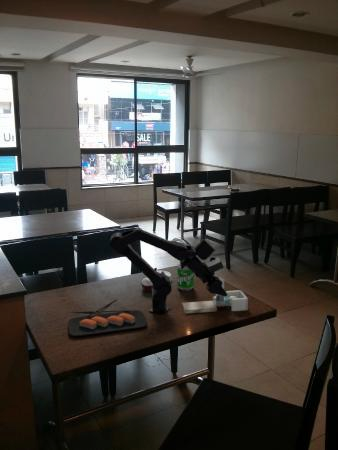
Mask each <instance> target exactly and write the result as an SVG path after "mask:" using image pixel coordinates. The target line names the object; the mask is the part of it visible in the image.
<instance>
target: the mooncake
mask: <svg viewBox="0 0 338 450" xmlns="http://www.w3.org/2000/svg"><path fill="white" fill-rule="evenodd" d="M156 271H157V272H159V273H161V272H162V271H163V272H164V273H165V274H166V275H167V276H168V277H169V278H170V282H171V281H172V274H171V272H169V271H166V270H163V269H162V270H160V269H157V270H156Z"/></svg>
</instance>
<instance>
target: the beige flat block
mask: <svg viewBox="0 0 338 450" xmlns="http://www.w3.org/2000/svg"><path fill="white" fill-rule="evenodd" d="M181 307H182V309H183V311H184V313H185V314H196V313H197V314H199V313H211V312H218V308H217V307H218V306H216V305H215V304H214V302H213V300H204V301H203V300H202V301H190V302H181Z"/></svg>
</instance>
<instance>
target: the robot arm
mask: <svg viewBox="0 0 338 450" xmlns="http://www.w3.org/2000/svg"><path fill="white" fill-rule="evenodd" d="M136 241H141V242H143V243H145V244H147V245H151V246H153V247H155V248H157V249H160V250H162V251H164V252H166V253H167V254H169V256H171V257H172V258H174V259H176V260H177V261H179V263H180V267H181V269H183V268H184V267H185V266H186V267H187V268H188V269H190V270H191V271H192V272H193V273H194V277H196V278H198V280H200V281H201V282H202V284H204V285H205V284H206V285H205V286H206V287H205V288H206V290H207V291H208V292H209V293H210V294H211V295H212V294H215V295H216V294H219V295H222V296H227V295H228V294H227V293H226V290H225V288H224V289H223V287H222V284H223V282H222V281H221V280H220V279H219V278H220V277H219V276H215V275H216V273H215V272H218V271H219V270H222V269H224V267H225V266H224V265H223V262H222V260H221V258H219V257H215V256H213V255H212V254H214V253H215V252H216V248H215V247H214V246H213V245H212V244H211V243H210V242H209V241H207V240H206V239H204V238H202V239H201V240H200V241H199V243H197V245H195V246H194V245H187V244H185V243H183V242H179V241H173V240H167V239H166V238H163V237H160V236H159V235H156V234H154V233H152V232H149V231H146V230H144V229H142V228H141V227H135V228H134V229H130V230H126V231H125V230H124V231H122V232H114V233H113V234H111V237H110V240H109V246H110V249H111V250H113V251H114V252H116V253H117V254H119V255H121V256H123V257H125V258H127V260H129V262H130V263H132V264H133V265H134V266H135V267H136V268H137V269H138V271H140V272H141V273H142V274H143V275H144V276H146V277H147V278H148V279H150V281H151V282H152V284H153V287H152V292H151V294H152V295H151V297H152V298H151V304H152V305H151V306H152V307H151V308H150V309H149V310H148V312H149V313H153V314H157V315H158V314H159V315H164V314H165V313H167V312H168V311H169V310H170V307H168V306H167V297H168V295H170V294H171V292H172V290H173V289H172V283H171V281H170V278H169V277H168V276H167V275H166V274H165V273H164V272H163V271H164V270H163V271H162V272H161V273H159V272H157V270H156V271H155V270H154V267H152V265H150V264H149V262H147V261H146V260H145V259H144V258H143V257H142V256H141V255H140V254H139V253H138V252H137V251H136V250H135V249H134V248H133V247H132V245H131V244H132V243H134V242H136ZM211 255H212V256H211ZM208 259H209V260H208ZM205 260H206V261H207V260H208V262H207V263H206V262H204V261H205ZM146 277H145V278H146Z"/></svg>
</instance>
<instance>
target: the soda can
mask: <svg viewBox="0 0 338 450" xmlns="http://www.w3.org/2000/svg"><path fill="white" fill-rule="evenodd" d="M194 277H195V274H194V273H193V272H192V271H191V270H190V269H188V268H187V267H186V266H185V267H184V268H183V269H181V267H180V262H179V264H177V288H178V289H179V290H181V291H184V292H185V291H187V292H188V291H191V290H192V289H193V288H194V287H195V286H194V285H195V284H194V283H195V282H194V279H195V278H194Z"/></svg>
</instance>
